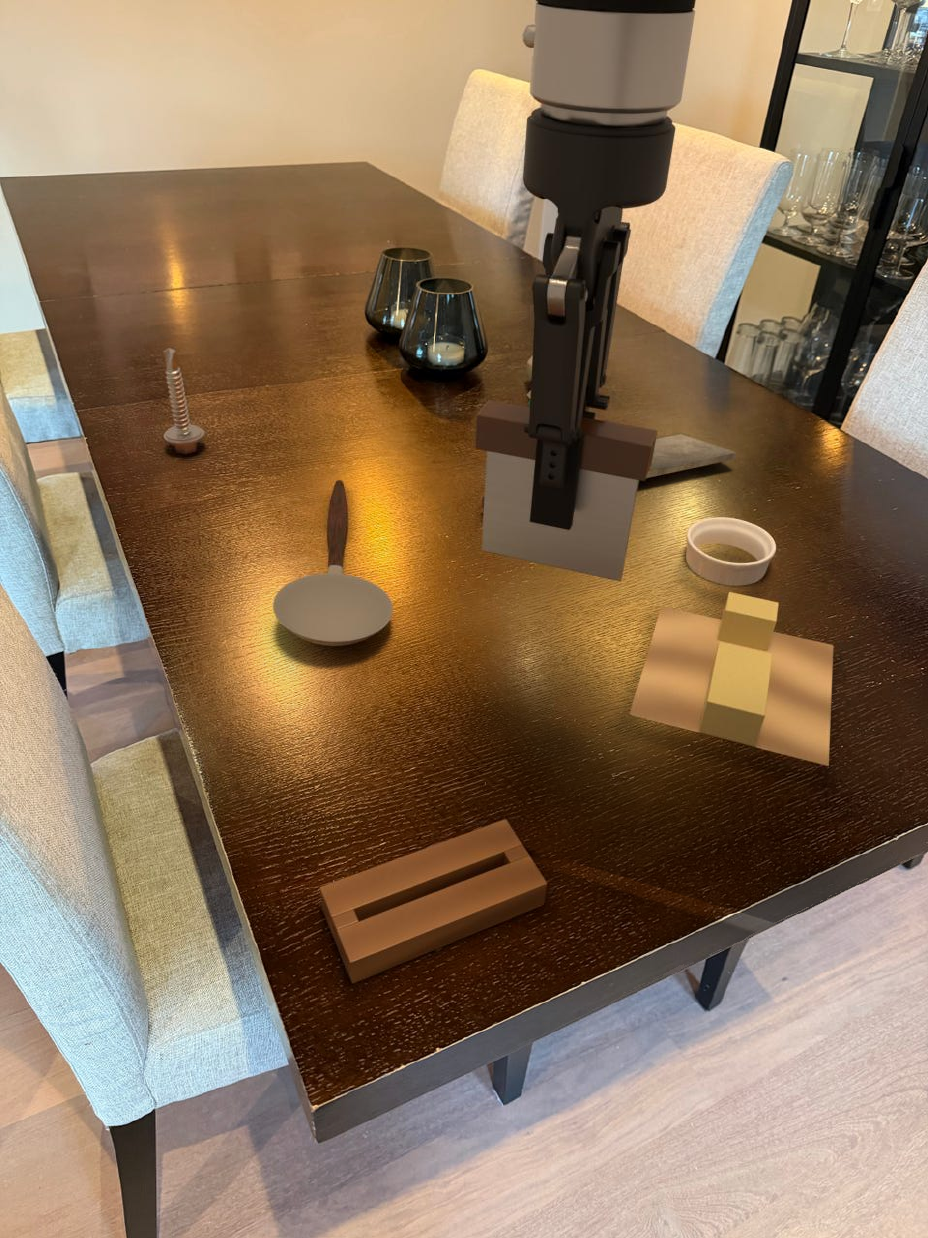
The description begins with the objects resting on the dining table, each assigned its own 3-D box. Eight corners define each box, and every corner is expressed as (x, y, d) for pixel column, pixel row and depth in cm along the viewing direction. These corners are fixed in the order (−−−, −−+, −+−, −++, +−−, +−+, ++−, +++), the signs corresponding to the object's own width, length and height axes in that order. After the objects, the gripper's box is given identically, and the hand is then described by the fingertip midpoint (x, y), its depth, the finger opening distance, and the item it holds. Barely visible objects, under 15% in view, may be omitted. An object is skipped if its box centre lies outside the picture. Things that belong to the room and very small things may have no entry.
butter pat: (767, 651, 82) (776, 621, 79) (717, 639, 83) (725, 609, 80) (769, 632, 84) (778, 602, 82) (720, 621, 85) (729, 591, 83)
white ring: (697, 602, 90) (706, 567, 87) (667, 553, 96) (674, 518, 94) (780, 596, 91) (791, 560, 88) (744, 547, 98) (754, 513, 95)
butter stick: (754, 746, 72) (765, 715, 70) (698, 732, 73) (707, 701, 71) (762, 684, 78) (772, 653, 76) (710, 671, 79) (719, 641, 77)
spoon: (268, 666, 79) (268, 638, 77) (292, 490, 105) (292, 467, 104) (391, 670, 80) (394, 643, 79) (384, 496, 107) (386, 473, 105)
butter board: (823, 778, 72) (829, 766, 71) (626, 726, 75) (629, 714, 74) (829, 657, 84) (833, 644, 83) (658, 617, 87) (661, 605, 86)
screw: (213, 451, 111) (176, 462, 108) (196, 437, 114) (160, 447, 111) (197, 350, 103) (157, 359, 100) (179, 336, 106) (140, 345, 103)
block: (544, 905, 62) (547, 883, 60) (352, 984, 57) (350, 963, 55) (503, 840, 66) (506, 818, 64) (321, 909, 61) (319, 887, 59)
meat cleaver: (679, 433, 119) (685, 405, 116) (734, 472, 111) (741, 442, 109) (450, 484, 107) (451, 454, 105) (494, 531, 99) (495, 500, 97)
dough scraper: (625, 591, 60) (650, 446, 53) (470, 556, 63) (476, 414, 56) (631, 572, 62) (657, 429, 55) (481, 539, 64) (488, 399, 58)
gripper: (567, 83, 52) (534, 450, 66) (482, 127, 40) (465, 560, 55) (698, 94, 50) (634, 469, 64) (648, 144, 38) (585, 588, 53)
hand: (557, 510), depth 59 cm, fingers closed on dough scraper, 2 cm apart
